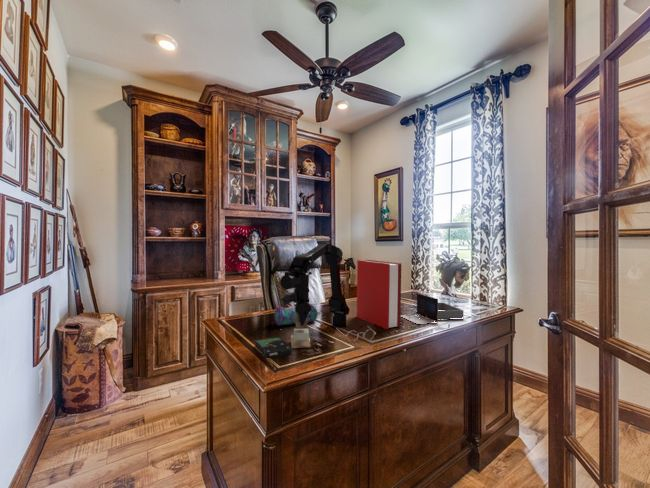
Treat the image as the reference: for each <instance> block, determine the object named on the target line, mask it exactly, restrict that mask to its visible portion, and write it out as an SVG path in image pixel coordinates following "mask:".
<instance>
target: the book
mask: <svg viewBox="0 0 650 488" xmlns="http://www.w3.org/2000/svg"><path fill="white" fill-rule="evenodd" d="M356 262H357V263H356V264H357V267H356V270H357V271H356V273H357V275H356V318H358V319H360V320H363V321H365V322H368V323H370V324H373V325H375V324H376V325H375V326H378V327H380V326H381V327H380V328H383V329H385V328H386V329H385V330H389V328H394V327H397V328H401V319H402V317H401V315H402V314H401V312H402V311H401V310H402V309H401V308H402V304H401V303H402V302H401V301H402V263H400V262H391V261H383V260H382V261H381V260H373V259H357V260H356Z"/></svg>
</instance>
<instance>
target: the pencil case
mask: <svg viewBox="0 0 650 488" xmlns="http://www.w3.org/2000/svg"><path fill="white" fill-rule="evenodd" d="M309 304H310V305H311V311H310V312H309V314H308V316H307V324H308V323H313V322H315V321H317V318H318V310H317V308H316V306H315V305H313V304H311V303H309ZM274 320H275V323H276V325H277V326H287V325H288V326H289V325H296V312H295V308H286V307H283V306H280V307H279V306H276V309H275V310H274Z"/></svg>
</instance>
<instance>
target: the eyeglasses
mask: <svg viewBox="0 0 650 488" xmlns="http://www.w3.org/2000/svg"><path fill="white" fill-rule="evenodd" d="M364 326H367V327H368V328H369V329H367V330H366V331H365V332H357V331H356V330H354V332H355V333H356V338H355V339H354V340H353V341H354V342H357V340H358V339H359V336H360V334H362V337H363V339H364V340H367V338H366V337H365V336H366V333H367V332H368V331H370V330H371V331H372V332H373V336H372V337H371V338H370V340H372V339H373V338H374V337H375V335H376V334H377V332H376V331H374V330H373V329H372V328H371V327H370V326H369V325H368V324H366V323H363V324H362V325H361V326H360V327H359V328H360V329H362V328H363V327H364ZM333 330H338V332H340V334H341V335H343V337H346V338H347V340H348V341H349V342H351V340H350V339H349V337H348V335H349V333H351V332H352V330H350V331H348V332H347V334H344V333H343V332H342V331H340V330H339V329H338V327H335V326H333Z"/></svg>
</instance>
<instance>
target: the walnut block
mask: <svg viewBox="0 0 650 488" xmlns="http://www.w3.org/2000/svg"><path fill="white" fill-rule="evenodd" d="M295 329H308V323H307V318H306V320H305V323H304V325H303V326H301V324H300V319H299V314H298V313H297V312H296V324H295Z"/></svg>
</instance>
